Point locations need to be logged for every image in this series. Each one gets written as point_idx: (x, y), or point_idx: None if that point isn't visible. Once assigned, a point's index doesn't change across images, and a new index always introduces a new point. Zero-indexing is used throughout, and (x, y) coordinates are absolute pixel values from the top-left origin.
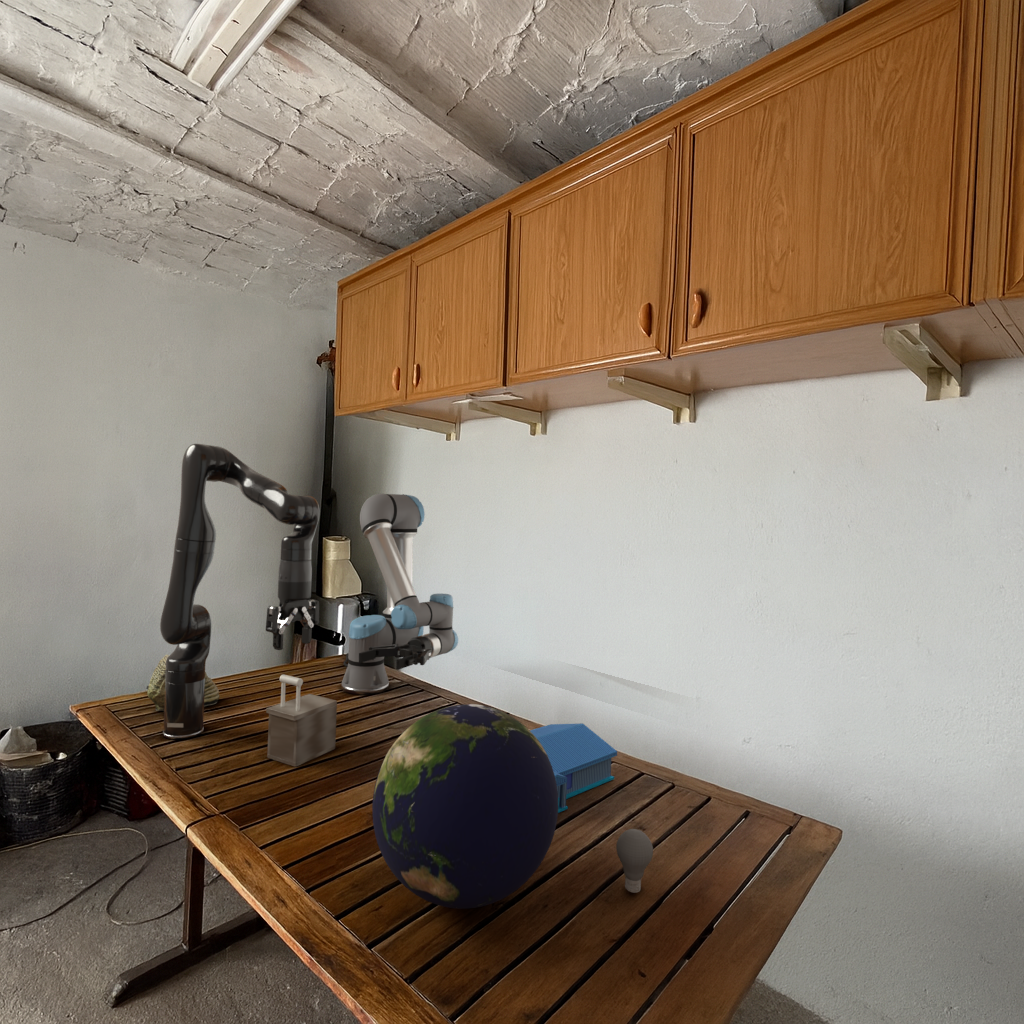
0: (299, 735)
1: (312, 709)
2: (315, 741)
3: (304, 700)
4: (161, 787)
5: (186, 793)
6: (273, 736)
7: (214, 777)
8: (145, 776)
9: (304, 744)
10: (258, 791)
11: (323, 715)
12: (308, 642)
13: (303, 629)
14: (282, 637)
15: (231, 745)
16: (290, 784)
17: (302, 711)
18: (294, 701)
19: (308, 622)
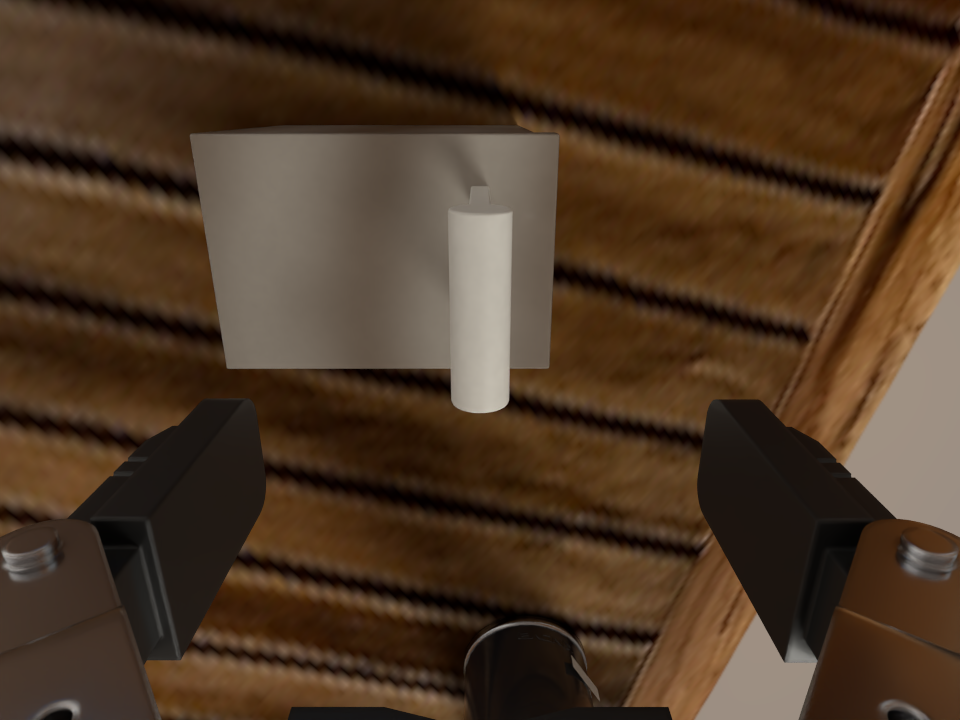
0: (508, 129)
1: (411, 134)
2: (400, 127)
3: (328, 301)
4: (866, 381)
5: (872, 279)
6: None
7: (735, 307)
8: None
9: (472, 127)
10: (760, 69)
11: (326, 131)
12: (239, 400)
13: (188, 611)
14: (806, 486)
15: (507, 477)
16: (653, 5)
17: (474, 157)
18: (377, 334)
19: (88, 617)
